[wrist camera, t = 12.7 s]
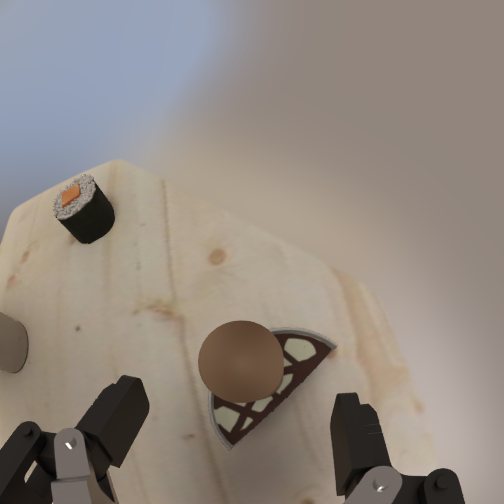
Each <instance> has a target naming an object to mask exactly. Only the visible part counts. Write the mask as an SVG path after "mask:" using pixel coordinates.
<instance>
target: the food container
mask: <svg viewBox="0 0 504 504" xmlns="http://www.w3.org/2000/svg"><path fill="white" fill-rule="evenodd" d="M269 331H270V332H271V333H272V334H273V335H274V336H275V337H276V338H277V340H278V342H279V343H280V346H281V348H282V351H283V357H284V371H283V380H282V383H281V385H280V387H279V389H278V390H277V391H276V392H275V393H274V394H273V395H271V396H270V397H268V398H265V399H261V400H257V401H253V402H248V403H233V402H229V401H225V400H223V399H221V398H219V397H218V396H216V395H215V394H213V393H212V392H211V391H210V390H209V396H208V408H209V415H210V419H211V423H212V425H213V428H214V430H215V432H216V434H217V436H218V437H219V439H220V440H221V442H222V443H223V444H224V445H225V447H226V448H227V449H228V450H231V449H232V448H233V447H234V446H235V445H236V444H237V443H238V442H239V441H240V440H241V439H242V438H243V437H244V436H245V435H247V433H248V432H250V431H251V430H252V429H254V427H255V426H256V425H258V424H259V423H260V422H261V421H262V420H263V419H264V418H265V417H267V415H268V414H269V413H271V412H273V411H274V409H275V408H276V407H277V406H278V405H279V404H280V403H281V402H283V400H284V399H285V398H288V396H289V395H290V394H291V393H292V391H294V390H295V388H296V387H297V386H299V384H300V383H303V381H304V380H305V379H306V378H307V376H308V375H309V374H310V373H311V372H312V371H313V370H314V369H315V368H316V367H317V366H318V365H319V364H320V363H321V361H323V360H324V359H325V358H326V357H327V356H328V355H329V354H330V353H331V352H332V351H333V350H334V349H335V348H336V347H337V346H338V345H337V344H336V343H335V342H333V341H332V340H330V339H329V338H327V337H325V336H323V335H321V334H319V333H316V332H313V331H310V330H306V329H301V328H291V327H283V328H273V329H269Z"/></svg>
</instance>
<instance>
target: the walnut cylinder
mask: <svg viewBox="0 0 504 504" xmlns="http://www.w3.org/2000/svg"><path fill="white" fill-rule="evenodd" d="M198 366H199V372H200V375H201V378H202V380H203V382H204V384H205V385H206V386H207V388H208V389H209V390H210V391H211V392H212V393H213V394H215V395H216V396H218V397H219V398H221V399H223V400H225V401H229V402H233V403H248V402H253V401H257V400H261V399H265V398H268V397H270V396H271V395H273V394H274V393H275V392H276V391H277V390H278V389H279V387H280V385H281V383H282V380H283V371H284V357H283V351H282V348H281V346H280V343H279V342H278V340H277V338H276V337H275V336H274V335H273V334H272V333H271V332H270V331H269V330H268V329H266V328H265V327H263V326H262V325H260V324H257V323H254V322H250V321H233V322H229V323H226V324H223V325H221V326H219V327H218V328H216V329H215V330H214V331H212V332H211V333H210V334H209V335H208V337H207V338H206V339H205V341H204V342H203V344H202V347H201V349H200V352H199V358H198Z"/></svg>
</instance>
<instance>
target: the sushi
mask: <svg viewBox="0 0 504 504" xmlns="http://www.w3.org/2000/svg"><path fill="white" fill-rule="evenodd" d="M53 204H54V205H53V207H54V209H53V211H54V212H55V214H54V216H56V218H57V219H58V220H59V221H60V222H61V223H62V224H63V225H64V226H65V227H66V228H67V229H68V230H69V232H70V233H71V234H72V235H73V236H74V237H75V238H76V239H77V240H78V241H79V242H81V243H88V244H89V243H91V242H93V241H95V240H97V239H99V238H101V237H102V236H104V235H105V234H106V233H107V232H108V231H109V230H110V229H111V227H112V226H113V223H114V219H115V216H114V210H113V208H112V205H111V203H110V202H109V201H108V199H107V198H106V197H105V195H104V194H103V192H102V191H101V190H100V188H99V187H98V185H97V184H96V183H95V181H94V178H93V177H92V176H91V175H87V176H86V175H85V174H84V175H83V177H82V176H80V178H79V179H74V181H73V182H72V183H71V184H70V186H65V190H63V191H61V190H60V194H59V195H57V198H55V199H54V203H53Z"/></svg>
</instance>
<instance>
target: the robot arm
mask: <svg viewBox="0 0 504 504" xmlns="http://www.w3.org/2000/svg"><path fill="white" fill-rule="evenodd" d="M27 349H28V340H27V334H26V330H25V328H24V326H23V325H22V324H21V323H20V322H18V321H16V320H14V319H12V318H11V317H9V316H7V315H5V314H3V313H1V312H0V369H1V370H4V371H7V372H11V373H15V372H17V371H19V370H20V369H21V368H22V366H23V364H24V362H25V359H26V355H27ZM148 413H149V401H148V398H147V395H146V392H145V389H144V386H143V383H142V381H141V379H140V378H136V377H131V376H127V375H123V376H121V377H120V379H119V380H118V381H117V383H116V384H113V383H112V384H111V385H109V386H108V387H106V388H105V389H103V391H102V392H101V393H100V395H99V396H98V399H96V400H95V401H94V403H93V405H91V407H90V408H89V409H88V411H87V412H86V413H85V415H84V416H83V417H82V419H81V420H80V422H79V423H78V424H77V426H76V427H75V428H66V429H63V430H61V431H60V432H58V433H57V434H56V433H49V432H43V431H42V430H41V429H40V427H39V426H38V425H37V424H36V423H35V422H31V421H27V422H23V423H22V424H20V425H19V426H18V427H17V428H16V430H15V431H14V432H13V434H12V435H11V436H10V438H9V439H8V440H7V442H6V443H5V444H4V446H3V447H2V448H1V450H0V504H52V502H53V503H54V504H119V502H118V499H117V496H116V493H115V490H114V487H113V483H112V480H111V476H110V473H109V471H108V468H109V466H110V465H113V466H115V467H118V468H120V466H121V465H122V463H123V461H124V459H125V457H126V455H127V453H128V451H129V449H130V447H131V445H132V444H133V442H134V440H135V438H136V436H137V434H138V432H139V430H140V428H141V427H142V425H143V423H144V421H145V419H146V417H147V415H148ZM330 431H331V440H332V449H333V458H334V468H335V479H336V491H337V496H342V495H345V502H344V503H343V504H465V501H464V498H463V494H462V490H461V486H460V483H459V480H458V477H457V475H456V474H455V473H454V472H453V471H451V470H449V469H445V468H441V469H437V470H434V471H433V472H431V473H430V474H429V475H428V476H408V475H403V474H401V473H399V472H398V471H397V470H396V469H394V468H393V467H392V465H391V462H390V459H389V455H388V451H387V448H386V444H385V440H384V437H383V433H382V429H381V426H380V425H379V419H378V416H377V412H376V411H375V410H374V409H373V408H372V407H371V406H370V405H369V404H362V405H360V402H359V398H358V395H357V393H356V392H354V393H339V394H337V396H336V400H335V404H334V408H333V412H332V416H331V423H330ZM34 460H35V461H36V463H37V465H36V467H35V469H34V470H33V472H32V474H31V475H30V477H29V478H28V480H27V482H26V483H25V480H24V477H25V475H26V473H27V471H28V470H29V468H30V467H31V465H32V463H33V462H34Z"/></svg>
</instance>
